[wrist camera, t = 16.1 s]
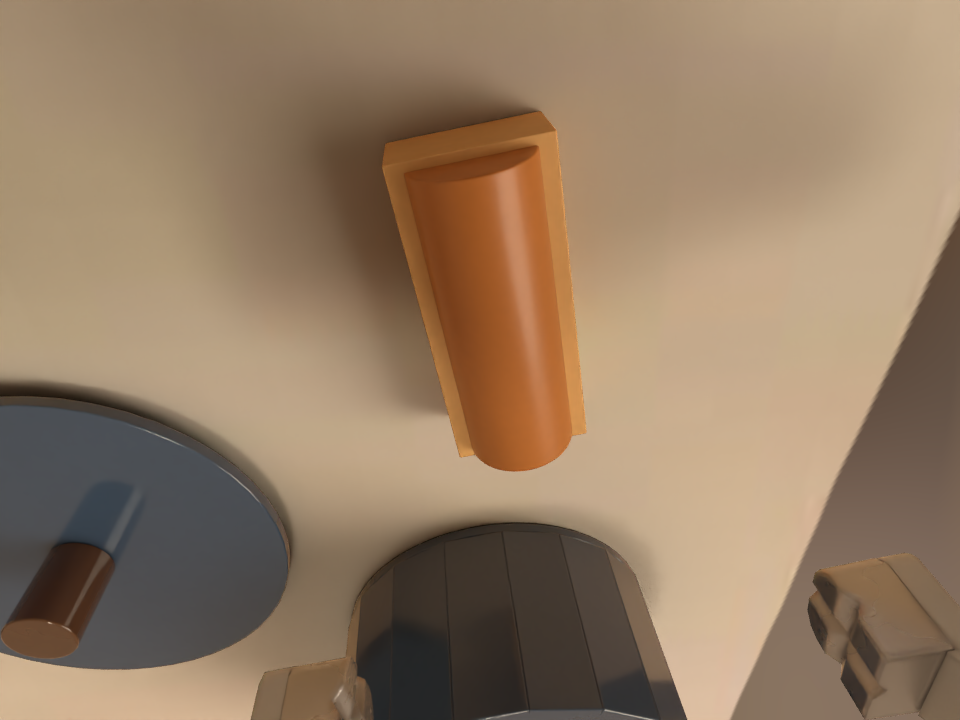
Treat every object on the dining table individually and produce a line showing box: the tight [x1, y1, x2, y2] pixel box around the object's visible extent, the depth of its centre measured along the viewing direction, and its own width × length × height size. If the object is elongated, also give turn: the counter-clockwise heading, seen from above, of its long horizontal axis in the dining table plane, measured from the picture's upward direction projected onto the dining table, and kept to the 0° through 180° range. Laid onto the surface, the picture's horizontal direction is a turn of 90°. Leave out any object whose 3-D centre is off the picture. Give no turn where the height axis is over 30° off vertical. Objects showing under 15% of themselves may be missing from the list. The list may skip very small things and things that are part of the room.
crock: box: [346, 523, 687, 720], centre depth 29 cm, size 16×16×8 cm
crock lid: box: [0, 396, 290, 670], centre depth 24 cm, size 17×17×5 cm
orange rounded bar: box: [382, 111, 586, 471], centre depth 19 cm, size 11×5×4 cm, turn 10°
